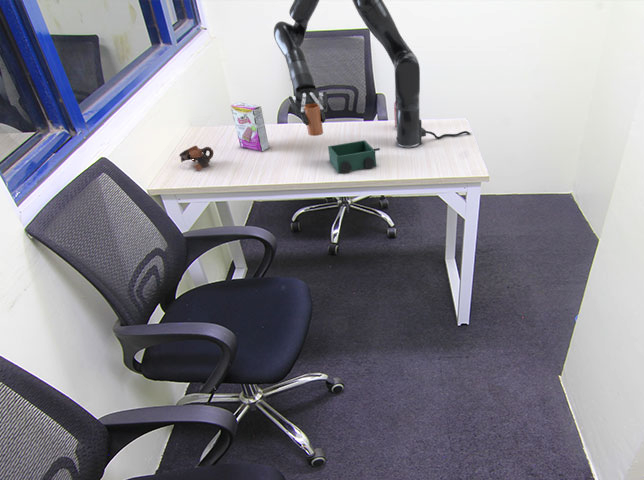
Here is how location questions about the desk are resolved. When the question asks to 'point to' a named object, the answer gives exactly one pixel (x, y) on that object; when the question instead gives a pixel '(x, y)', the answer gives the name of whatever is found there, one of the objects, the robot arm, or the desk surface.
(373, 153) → the cart
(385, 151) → the desk surface
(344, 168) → the cart wheels
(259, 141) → the candy bar box
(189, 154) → the pottery mug
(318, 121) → the orange cup
